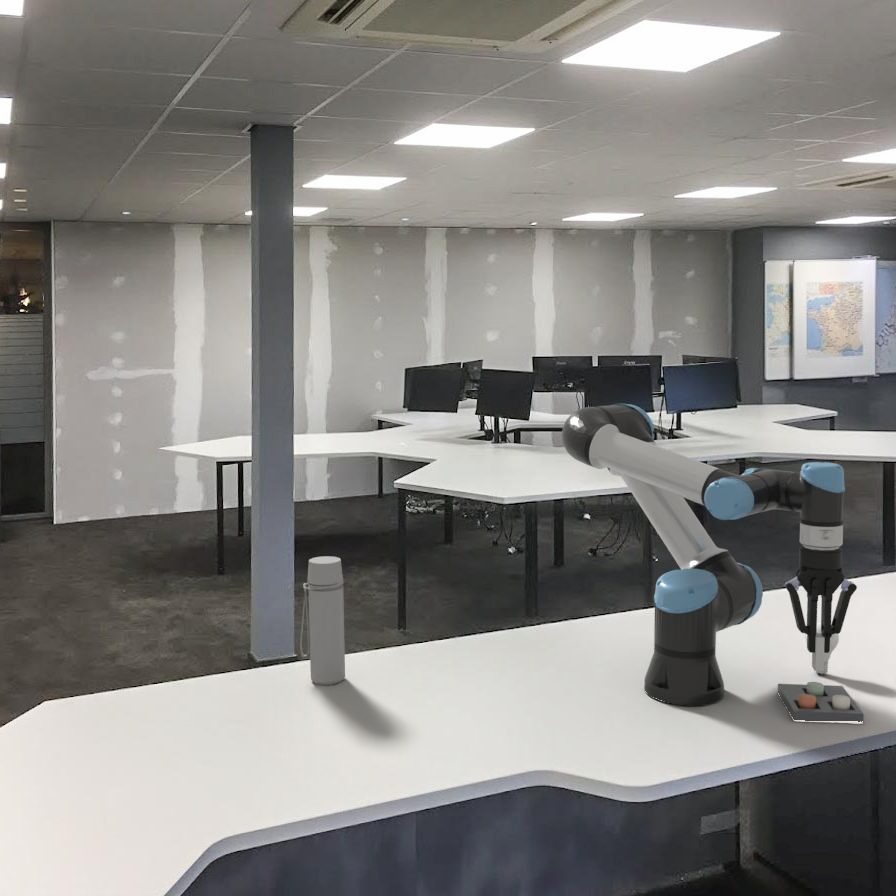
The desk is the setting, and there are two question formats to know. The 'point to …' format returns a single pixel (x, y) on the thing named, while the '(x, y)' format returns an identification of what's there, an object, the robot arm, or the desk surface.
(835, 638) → the lightbulb
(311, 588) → the water bottle
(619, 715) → the desk surface
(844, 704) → the cream button
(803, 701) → the rust button
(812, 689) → the sage button
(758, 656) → the desk surface
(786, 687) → the panel
